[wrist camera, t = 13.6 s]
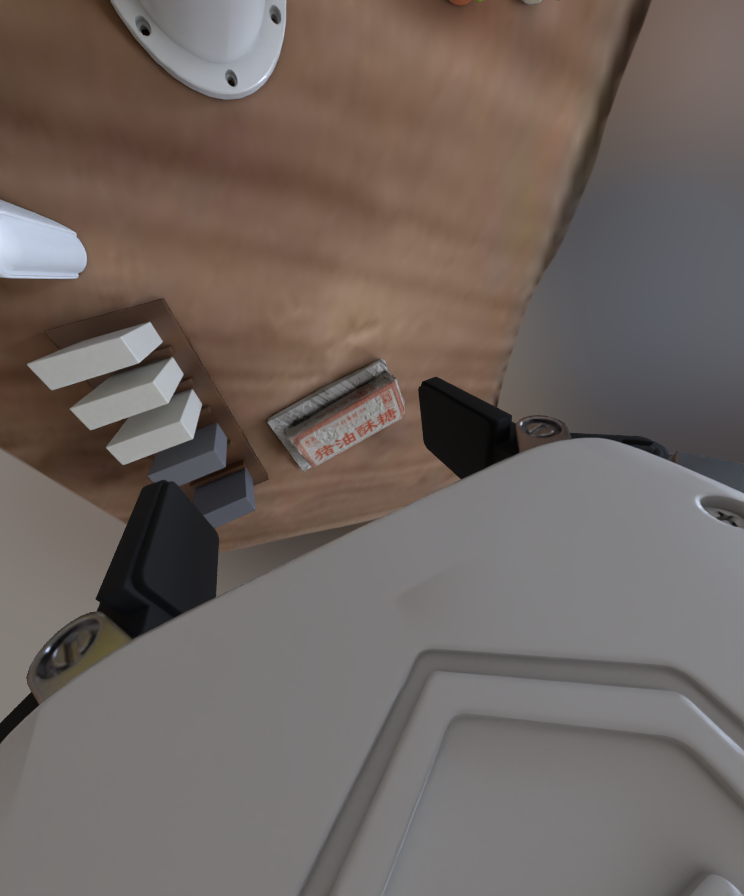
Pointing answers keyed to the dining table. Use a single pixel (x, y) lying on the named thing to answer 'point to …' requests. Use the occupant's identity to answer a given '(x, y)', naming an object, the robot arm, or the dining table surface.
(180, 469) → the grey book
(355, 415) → the packaged product
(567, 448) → the robot arm
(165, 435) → the white book
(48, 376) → the white book
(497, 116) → the dining table surface
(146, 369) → the white book
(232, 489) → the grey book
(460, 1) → the toy tea set
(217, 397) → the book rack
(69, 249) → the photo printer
